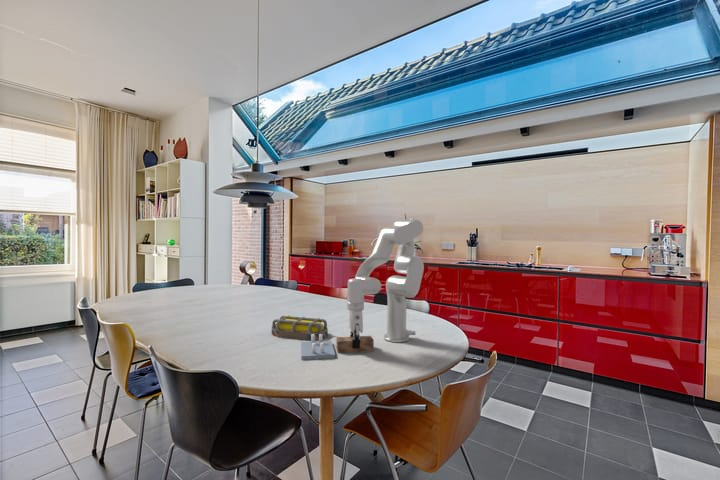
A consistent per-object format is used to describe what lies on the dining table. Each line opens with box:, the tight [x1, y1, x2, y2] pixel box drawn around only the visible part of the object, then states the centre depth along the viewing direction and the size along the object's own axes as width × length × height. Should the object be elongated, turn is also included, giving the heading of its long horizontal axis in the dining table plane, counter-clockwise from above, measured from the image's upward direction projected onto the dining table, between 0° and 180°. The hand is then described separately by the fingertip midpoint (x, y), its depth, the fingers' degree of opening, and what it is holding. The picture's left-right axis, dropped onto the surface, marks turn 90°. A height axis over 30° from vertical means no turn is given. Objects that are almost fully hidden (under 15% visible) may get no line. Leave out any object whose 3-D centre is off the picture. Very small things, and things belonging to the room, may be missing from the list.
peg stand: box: [300, 334, 336, 361], centre depth 145 cm, size 14×18×6 cm
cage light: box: [271, 315, 329, 341], centre depth 170 cm, size 15×8×30 cm
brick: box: [335, 335, 375, 354], centre depth 148 cm, size 16×6×5 cm, turn 101°
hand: (354, 345), depth 148 cm, fingers closed on brick, 6 cm apart
